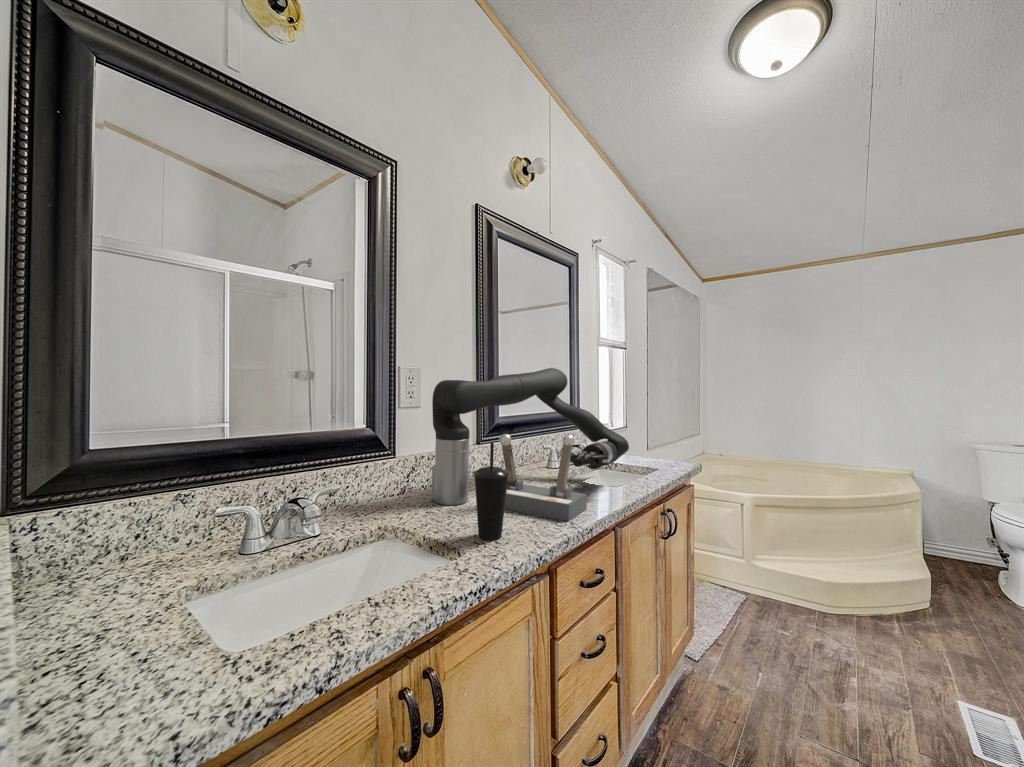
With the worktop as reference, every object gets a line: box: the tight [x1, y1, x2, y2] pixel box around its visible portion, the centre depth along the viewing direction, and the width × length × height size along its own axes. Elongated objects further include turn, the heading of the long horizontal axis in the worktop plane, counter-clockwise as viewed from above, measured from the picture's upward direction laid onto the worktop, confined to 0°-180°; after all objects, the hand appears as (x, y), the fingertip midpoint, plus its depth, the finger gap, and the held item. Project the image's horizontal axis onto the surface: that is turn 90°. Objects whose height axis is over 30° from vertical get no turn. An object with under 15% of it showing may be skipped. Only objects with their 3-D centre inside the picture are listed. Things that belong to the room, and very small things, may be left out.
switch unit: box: [504, 480, 588, 522], centre depth 114 cm, size 24×12×6 cm, turn 60°
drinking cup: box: [472, 441, 509, 541], centre depth 91 cm, size 8×8×20 cm
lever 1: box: [498, 433, 518, 487], centre depth 115 cm, size 3×3×15 cm
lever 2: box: [555, 434, 575, 493], centre depth 112 cm, size 3×3×15 cm
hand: (576, 462), depth 119 cm, fingers closed
